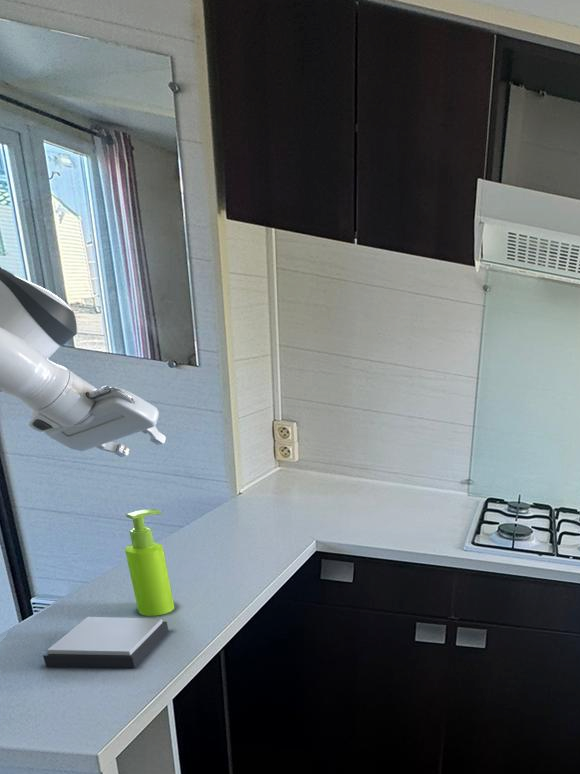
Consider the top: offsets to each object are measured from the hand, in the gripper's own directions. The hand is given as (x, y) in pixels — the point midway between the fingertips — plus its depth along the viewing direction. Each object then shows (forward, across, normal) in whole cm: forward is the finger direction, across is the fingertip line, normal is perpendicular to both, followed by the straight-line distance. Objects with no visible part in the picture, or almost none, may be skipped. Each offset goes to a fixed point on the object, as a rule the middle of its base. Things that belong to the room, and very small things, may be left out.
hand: (144, 447), depth 121 cm
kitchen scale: (+6, +2, +39) cm, 40 cm away
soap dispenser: (+15, +6, +27) cm, 32 cm away
